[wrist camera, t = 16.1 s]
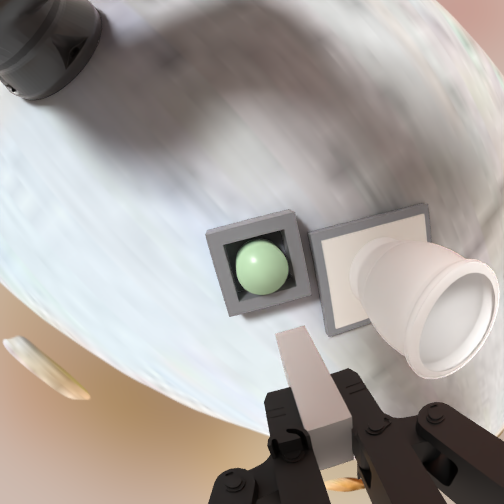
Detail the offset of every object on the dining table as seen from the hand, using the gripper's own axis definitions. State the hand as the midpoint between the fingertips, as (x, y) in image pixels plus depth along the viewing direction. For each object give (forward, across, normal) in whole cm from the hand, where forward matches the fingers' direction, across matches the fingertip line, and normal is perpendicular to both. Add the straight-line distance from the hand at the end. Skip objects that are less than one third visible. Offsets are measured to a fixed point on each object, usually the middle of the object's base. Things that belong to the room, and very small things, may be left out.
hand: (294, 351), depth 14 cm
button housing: (+19, 0, 0) cm, 19 cm away
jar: (+18, +14, -5) cm, 23 cm away
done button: (+18, 0, 0) cm, 18 cm away
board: (+19, +14, -5) cm, 24 cm away
